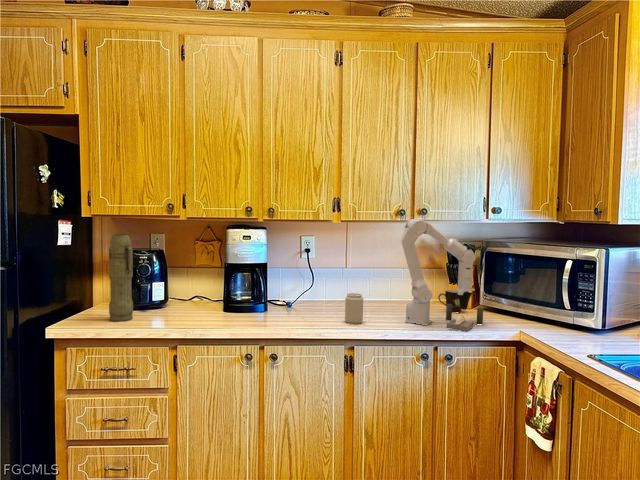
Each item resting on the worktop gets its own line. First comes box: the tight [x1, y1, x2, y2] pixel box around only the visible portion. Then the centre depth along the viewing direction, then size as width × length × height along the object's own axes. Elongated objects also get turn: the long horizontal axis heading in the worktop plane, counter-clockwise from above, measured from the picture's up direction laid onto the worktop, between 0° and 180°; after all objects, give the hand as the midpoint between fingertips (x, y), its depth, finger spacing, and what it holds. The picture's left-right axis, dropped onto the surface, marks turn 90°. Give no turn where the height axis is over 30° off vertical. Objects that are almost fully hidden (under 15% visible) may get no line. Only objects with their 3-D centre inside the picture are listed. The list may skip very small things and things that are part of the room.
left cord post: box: [445, 304, 453, 321], centre depth 192 cm, size 2×2×7 cm
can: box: [344, 292, 364, 325], centre depth 184 cm, size 8×8×12 cm
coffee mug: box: [438, 288, 462, 312], centre depth 209 cm, size 12×9×10 cm
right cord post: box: [476, 307, 484, 325], centre depth 185 cm, size 2×2×7 cm
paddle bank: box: [455, 315, 466, 325], centre depth 179 cm, size 2×9×2 cm, turn 147°
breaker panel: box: [446, 318, 474, 333], centre depth 180 cm, size 8×10×2 cm
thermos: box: [108, 233, 134, 323], centre depth 180 cm, size 9×12×35 cm
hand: (463, 309), depth 187 cm, fingers closed
